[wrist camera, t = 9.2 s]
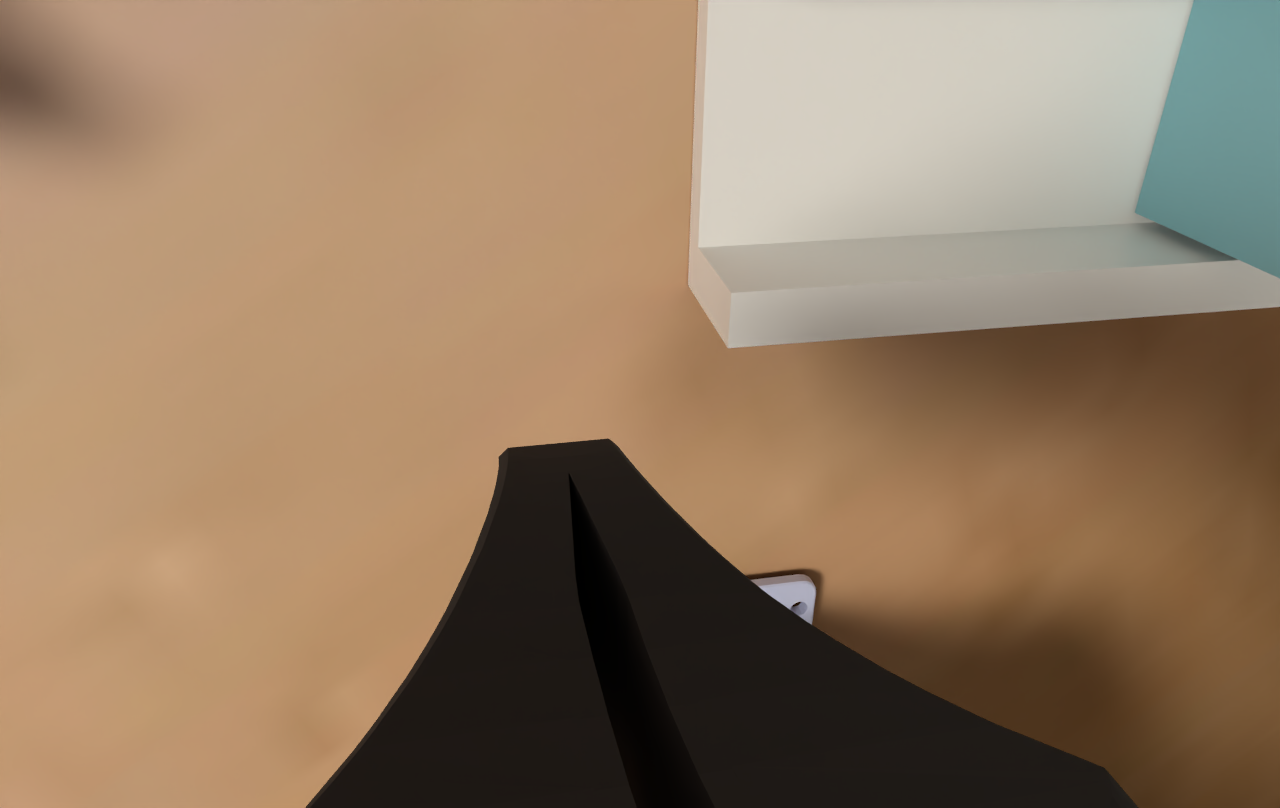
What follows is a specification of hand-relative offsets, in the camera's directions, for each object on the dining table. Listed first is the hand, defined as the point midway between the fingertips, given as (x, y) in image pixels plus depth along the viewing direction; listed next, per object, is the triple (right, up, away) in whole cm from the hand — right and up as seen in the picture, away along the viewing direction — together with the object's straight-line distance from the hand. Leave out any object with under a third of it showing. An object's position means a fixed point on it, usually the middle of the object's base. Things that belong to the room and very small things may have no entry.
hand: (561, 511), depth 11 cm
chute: (+12, +8, +10) cm, 18 cm away
